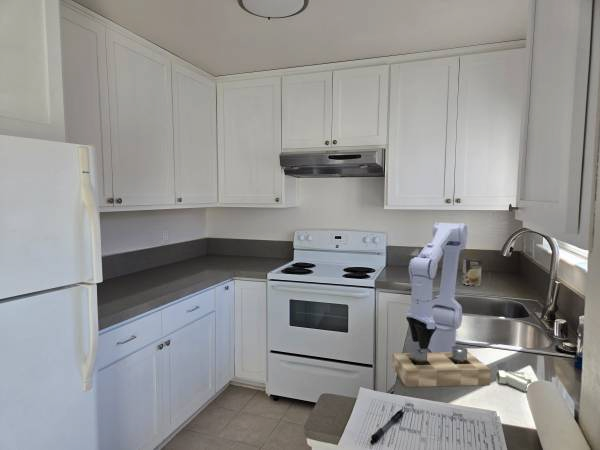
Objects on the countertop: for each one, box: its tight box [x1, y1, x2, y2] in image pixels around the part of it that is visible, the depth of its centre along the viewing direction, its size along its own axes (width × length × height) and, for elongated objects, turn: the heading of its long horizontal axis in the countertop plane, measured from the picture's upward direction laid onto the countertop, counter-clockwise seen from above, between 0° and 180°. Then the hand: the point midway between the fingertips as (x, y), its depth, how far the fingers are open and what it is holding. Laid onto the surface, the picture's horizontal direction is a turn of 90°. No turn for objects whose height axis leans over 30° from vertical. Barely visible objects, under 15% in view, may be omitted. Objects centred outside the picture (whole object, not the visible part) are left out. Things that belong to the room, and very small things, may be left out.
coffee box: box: [461, 258, 483, 286], centre depth 227 cm, size 9×6×16 cm
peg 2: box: [451, 345, 468, 364], centre depth 109 cm, size 4×4×4 cm
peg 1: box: [411, 346, 428, 365], centre depth 108 cm, size 4×4×4 cm
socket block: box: [391, 351, 492, 388], centre depth 109 cm, size 12×24×4 cm, turn 94°
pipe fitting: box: [495, 369, 532, 393], centre depth 103 cm, size 8×4×7 cm
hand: (420, 344), depth 108 cm, fingers open, 5 cm apart
